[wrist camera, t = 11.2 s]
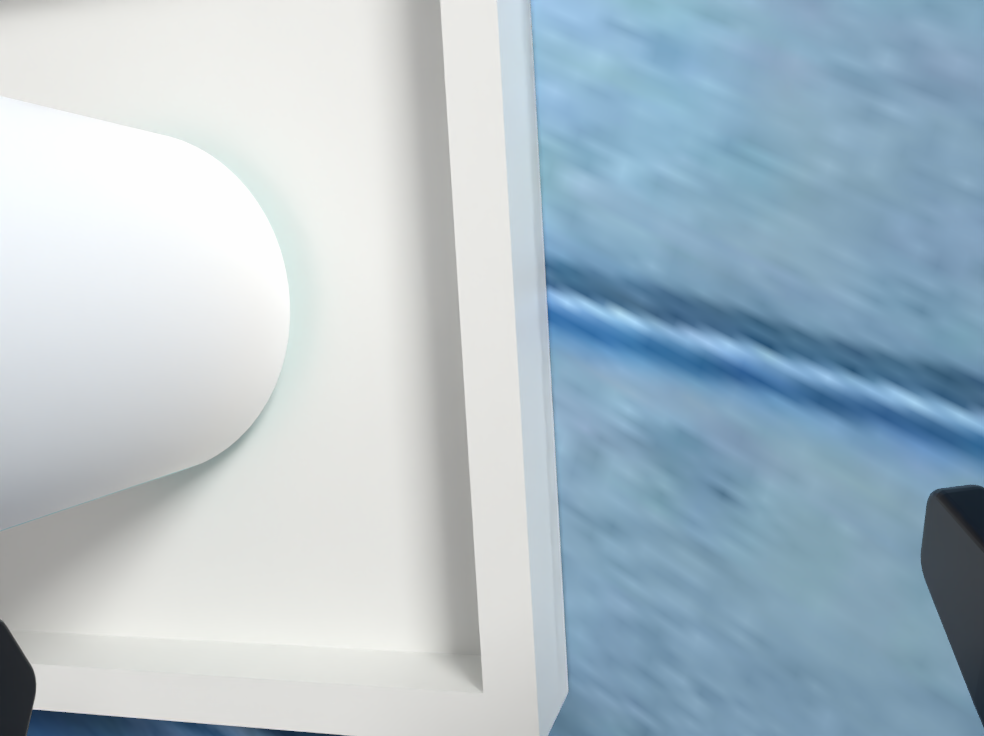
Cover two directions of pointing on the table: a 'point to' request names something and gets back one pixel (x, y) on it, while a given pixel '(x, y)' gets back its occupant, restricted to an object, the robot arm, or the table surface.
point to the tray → (327, 383)
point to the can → (125, 309)
